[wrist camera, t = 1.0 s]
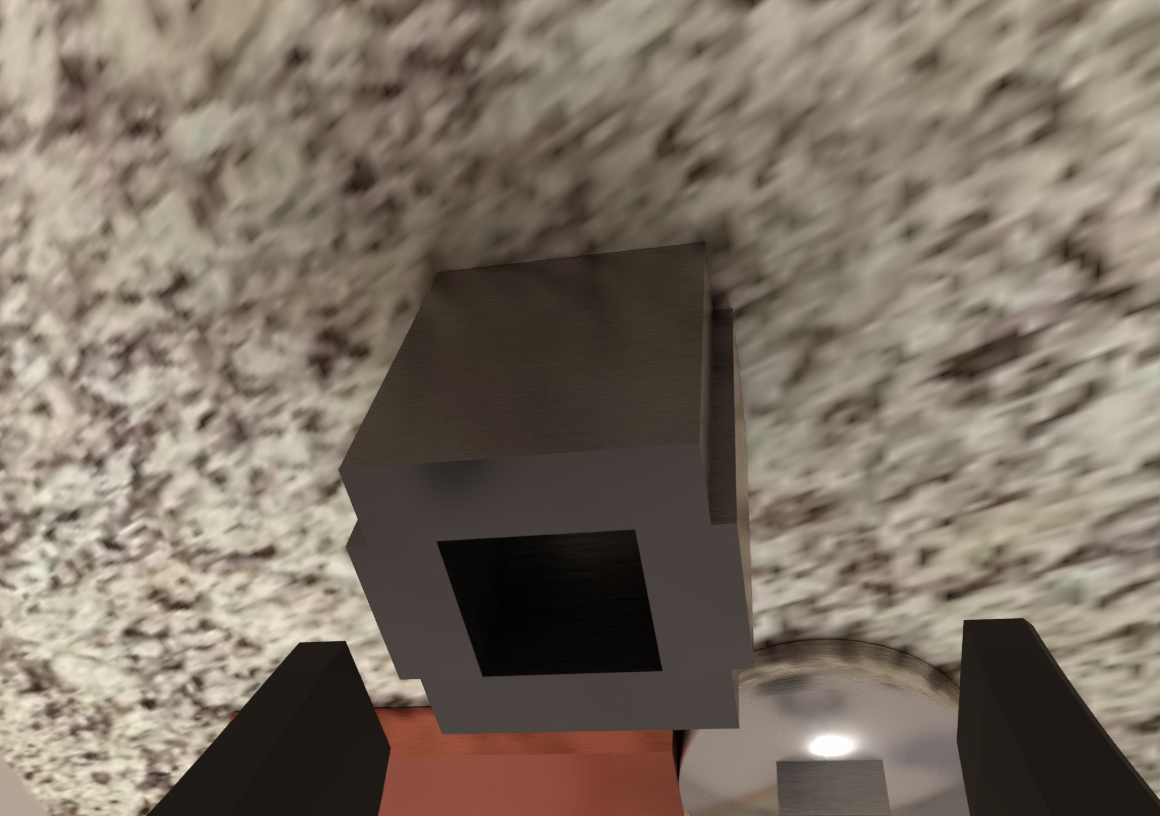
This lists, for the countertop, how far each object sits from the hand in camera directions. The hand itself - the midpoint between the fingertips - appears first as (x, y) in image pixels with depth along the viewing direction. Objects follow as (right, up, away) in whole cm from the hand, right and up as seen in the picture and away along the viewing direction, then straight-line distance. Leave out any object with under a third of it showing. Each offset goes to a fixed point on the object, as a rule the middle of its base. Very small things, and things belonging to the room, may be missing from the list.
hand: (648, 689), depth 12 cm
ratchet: (-1, -5, +14) cm, 15 cm away
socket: (0, +4, +8) cm, 9 cm away
